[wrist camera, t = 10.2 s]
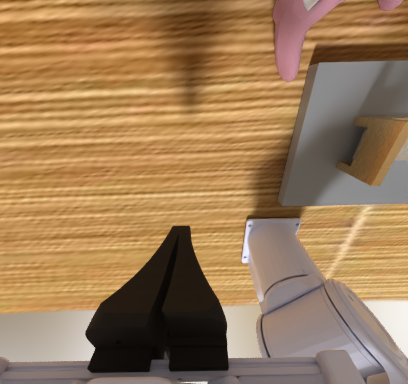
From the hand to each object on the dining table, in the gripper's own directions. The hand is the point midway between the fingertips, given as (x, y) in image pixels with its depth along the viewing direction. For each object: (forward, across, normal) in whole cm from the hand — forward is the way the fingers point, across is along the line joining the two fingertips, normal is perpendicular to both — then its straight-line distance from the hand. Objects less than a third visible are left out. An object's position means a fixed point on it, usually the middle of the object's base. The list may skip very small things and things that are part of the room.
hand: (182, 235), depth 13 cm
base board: (+9, -23, -5) cm, 25 cm away
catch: (+8, -18, -5) cm, 21 cm away
